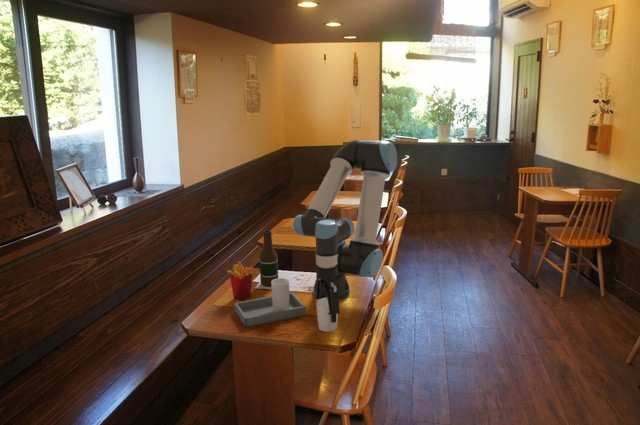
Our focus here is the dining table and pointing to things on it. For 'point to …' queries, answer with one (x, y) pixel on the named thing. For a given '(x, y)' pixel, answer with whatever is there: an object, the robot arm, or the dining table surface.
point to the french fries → (241, 282)
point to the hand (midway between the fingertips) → (327, 324)
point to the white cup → (323, 314)
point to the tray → (267, 311)
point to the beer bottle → (268, 261)
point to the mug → (280, 294)
